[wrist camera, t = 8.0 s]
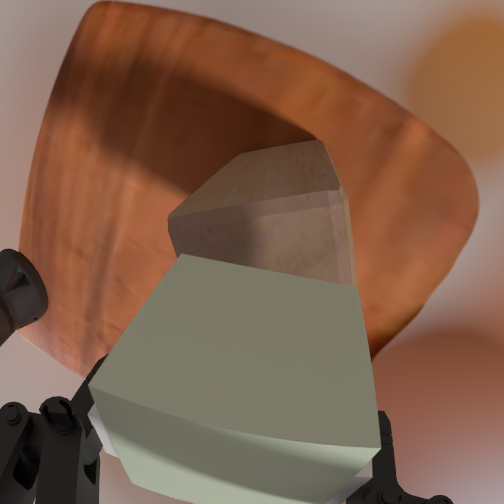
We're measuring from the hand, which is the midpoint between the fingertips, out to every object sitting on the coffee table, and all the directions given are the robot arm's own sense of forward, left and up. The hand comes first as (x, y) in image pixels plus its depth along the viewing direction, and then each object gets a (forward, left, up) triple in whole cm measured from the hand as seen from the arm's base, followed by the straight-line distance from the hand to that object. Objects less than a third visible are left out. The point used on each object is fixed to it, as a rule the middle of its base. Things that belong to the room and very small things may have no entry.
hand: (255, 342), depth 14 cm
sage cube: (0, 0, 0) cm, 0 cm away
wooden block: (0, 0, -25) cm, 25 cm away
